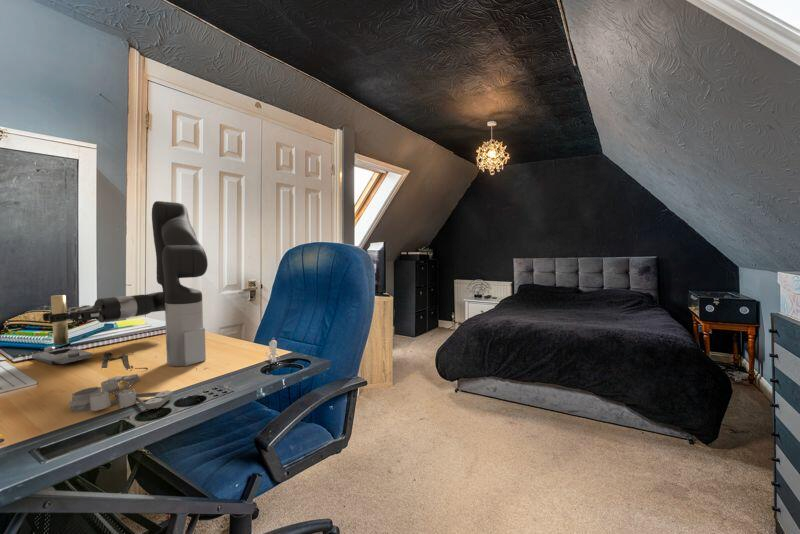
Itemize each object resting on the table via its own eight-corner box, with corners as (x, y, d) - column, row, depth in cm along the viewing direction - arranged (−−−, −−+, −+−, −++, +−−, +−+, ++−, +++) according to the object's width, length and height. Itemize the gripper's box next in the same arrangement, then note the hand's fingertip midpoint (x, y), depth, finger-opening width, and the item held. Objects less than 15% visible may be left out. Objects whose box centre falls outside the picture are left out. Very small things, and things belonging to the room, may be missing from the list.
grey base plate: (92, 361, 107) (92, 348, 106) (61, 368, 100) (60, 354, 100) (61, 352, 115) (61, 340, 115) (31, 358, 109) (30, 345, 109)
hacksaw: (103, 357, 112) (102, 352, 112) (144, 351, 118) (144, 346, 118) (99, 380, 93) (98, 375, 93) (148, 372, 99) (148, 366, 99)
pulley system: (91, 437, 67) (180, 404, 79) (87, 412, 67) (178, 382, 79) (55, 402, 84) (133, 379, 96) (52, 382, 83) (131, 361, 95)
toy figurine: (268, 367, 102) (267, 340, 102) (257, 361, 108) (256, 336, 108) (286, 363, 106) (286, 337, 105) (274, 357, 112) (274, 333, 111)
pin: (70, 343, 109) (67, 295, 108) (56, 345, 106) (53, 296, 105) (65, 341, 110) (62, 294, 109) (51, 344, 107) (48, 296, 106)
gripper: (104, 295, 123) (34, 302, 108) (127, 298, 116) (57, 307, 101) (105, 317, 124) (36, 328, 108) (128, 322, 117) (58, 334, 102)
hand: (46, 318), depth 105 cm, fingers closed on pin, 3 cm apart
